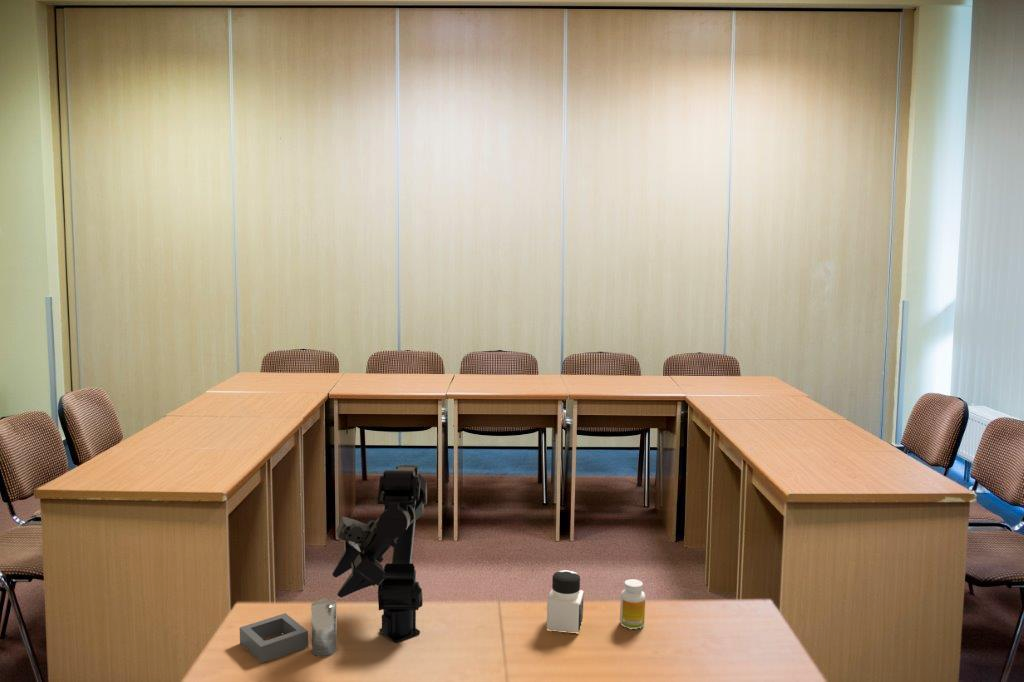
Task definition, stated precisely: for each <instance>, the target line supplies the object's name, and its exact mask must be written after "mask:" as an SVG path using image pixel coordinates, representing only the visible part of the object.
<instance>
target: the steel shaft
mask: <svg viewBox="0 0 1024 682" xmlns="http://www.w3.org/2000/svg"><path fill="white" fill-rule="evenodd" d="M337 607H338V606H337V601H336V600H334V599H331V598H330V599H329V598H322V599H321V598H320V599H317V600H316V601H313V602H312V603H311V606H310V611H311V616H310V617H311V653H313V654H314V656H315V655H316V656H315V657H318V656H321V657H320V658H325V656H327V657H331V656H333V655H334V654H336V653H337V651H338V638H337V637H338V635H337V634H338V631H337V629H338V628H337V627H338V625H337V624H338V623H337V622H338V621H337V620H338V618H337V615H338V614H337ZM313 654H312V655H313ZM323 656H324V657H323Z"/></svg>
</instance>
